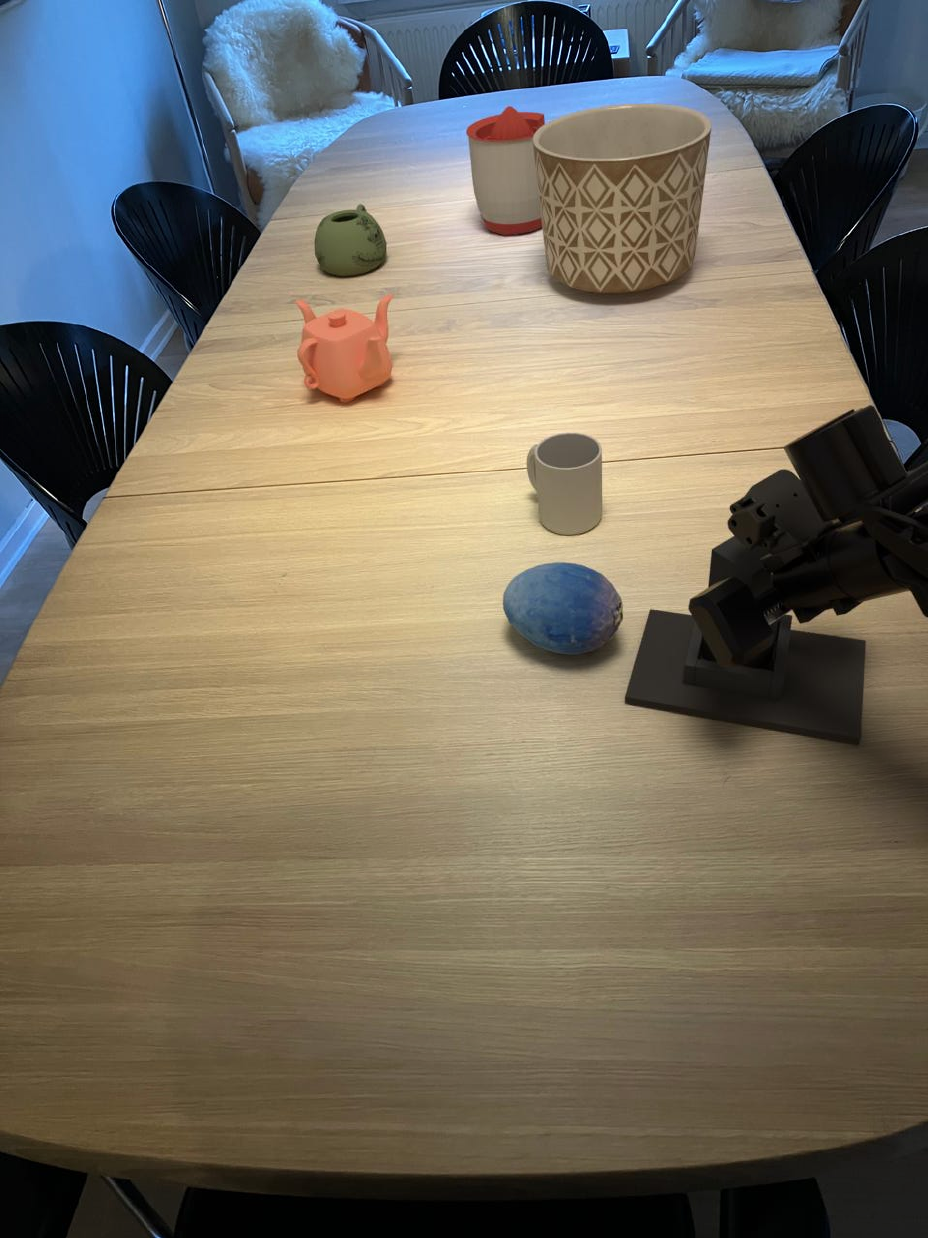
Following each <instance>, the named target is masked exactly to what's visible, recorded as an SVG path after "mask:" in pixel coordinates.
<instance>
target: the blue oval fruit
mask: <svg viewBox="0 0 928 1238" xmlns="http://www.w3.org/2000/svg"><path fill="white" fill-rule="evenodd" d="M502 609H503V612H504V615H505V617H506V619H507V621H508V623H509V624H510V625H511V626H512V627H513V629H515V630H516V631H517V633H519V634H520V635H521V636H522V637H523V638H524V639H525V640H527V641H529V642H531V643H532V645H535V646H536V647H538V648H541V649H543V650H546V651H549V652H552V653H555V654H563V655H579V654H585V653H588V652H590V651H594V650H596V649H598V648H600V647H602V646H603V645H605V644H606V643H608V642H610V640H612V639H613V638H614V636H615V635H616V633H617V631H618V629H619V627H620V626H621V623H622V622H623V619H624V611H623V610H624V604H623V601H622V597H621V595H620V594H619V593H618V591H617V589H616V588H615V586H614V585H613V583H612V582H610V580H609V579H608V578H607V577H606V576H605V575H604V574H602V573H601V572H598V571H597V570H595V569H593V568H591V567H588V566H586V565H583V564H580V563H579V564H578V563H574V562H573V563H572V562H566V561H565V562H564V561H562V562H561V561H560V562H559V561H558V562H550V563H549V562H548V563H542V564H538V565H535V566H533V567H530V568H528V569H525V570H523V571H522V572H520V573H518V574H517V575H515V576H514V577H513V578H512V579H511V580H510V582H509V583H508V584H507V586H506V588H505V590H504V591H503V595H502Z"/></svg>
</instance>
